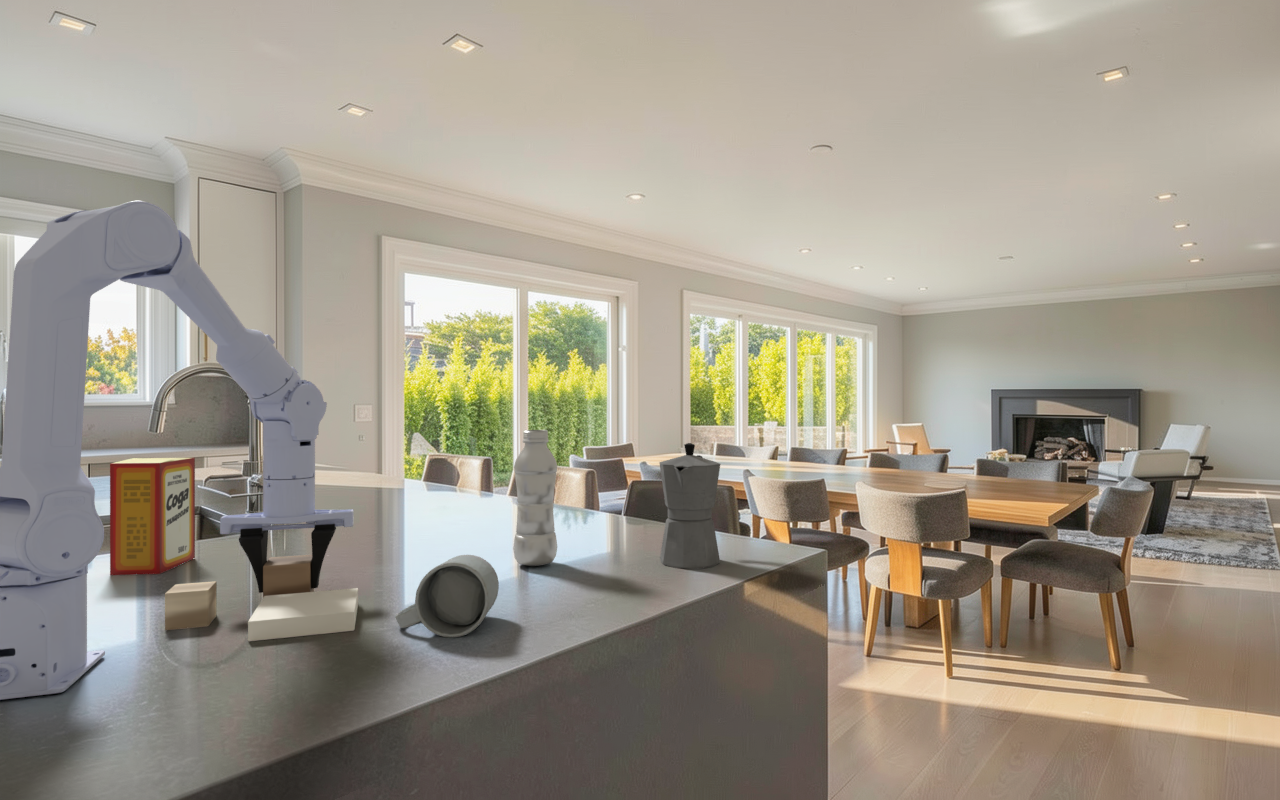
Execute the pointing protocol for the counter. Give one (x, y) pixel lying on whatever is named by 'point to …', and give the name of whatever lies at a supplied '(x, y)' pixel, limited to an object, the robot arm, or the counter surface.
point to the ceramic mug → (453, 597)
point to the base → (304, 614)
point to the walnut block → (287, 575)
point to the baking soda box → (151, 514)
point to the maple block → (190, 605)
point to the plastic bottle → (535, 501)
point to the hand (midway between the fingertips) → (289, 588)
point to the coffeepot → (689, 511)
